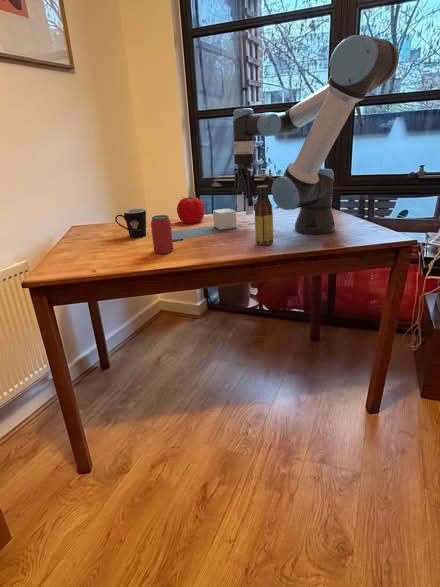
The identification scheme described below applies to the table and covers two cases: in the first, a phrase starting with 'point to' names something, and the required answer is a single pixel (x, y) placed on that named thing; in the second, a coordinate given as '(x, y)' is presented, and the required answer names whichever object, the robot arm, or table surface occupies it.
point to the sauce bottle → (263, 217)
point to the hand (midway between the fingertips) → (244, 212)
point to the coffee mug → (135, 222)
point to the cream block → (224, 219)
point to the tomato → (190, 210)
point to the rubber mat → (197, 232)
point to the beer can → (162, 234)
